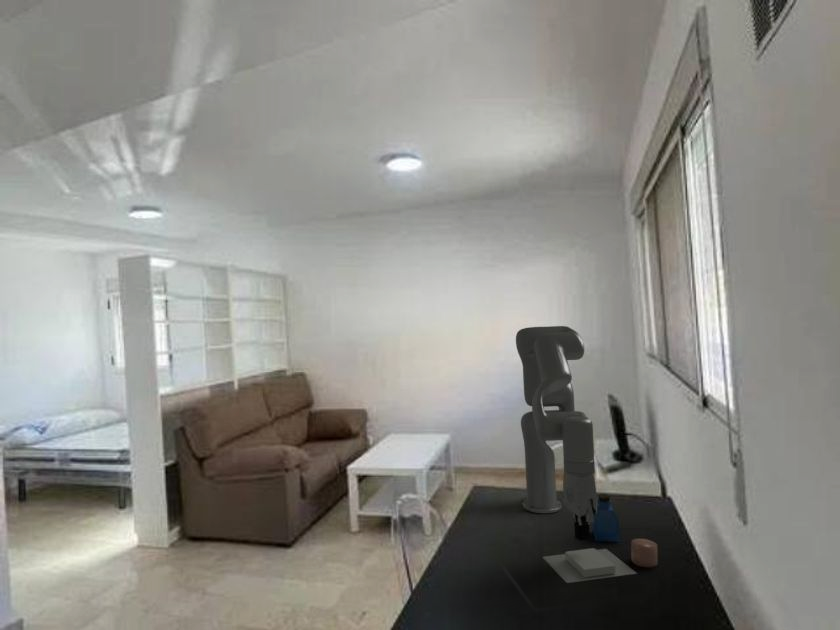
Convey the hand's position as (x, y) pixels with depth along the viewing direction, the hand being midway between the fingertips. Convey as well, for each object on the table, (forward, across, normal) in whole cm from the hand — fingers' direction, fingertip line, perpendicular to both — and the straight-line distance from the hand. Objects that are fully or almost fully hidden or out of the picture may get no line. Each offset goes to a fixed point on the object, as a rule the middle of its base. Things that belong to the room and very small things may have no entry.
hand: (582, 538), depth 133 cm
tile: (+5, -2, 0) cm, 5 cm away
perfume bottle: (+6, -12, +13) cm, 19 cm away
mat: (+6, +2, 0) cm, 7 cm away
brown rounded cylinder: (+6, +4, +14) cm, 16 cm away
